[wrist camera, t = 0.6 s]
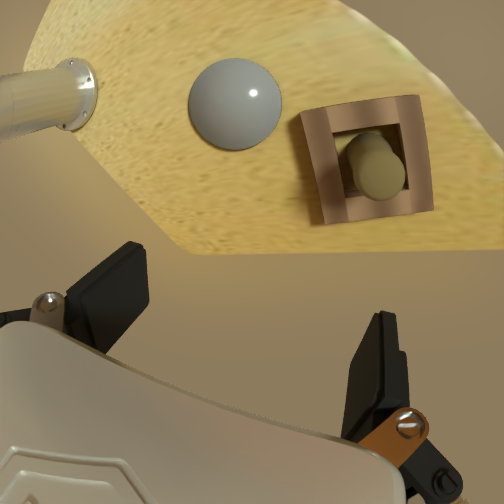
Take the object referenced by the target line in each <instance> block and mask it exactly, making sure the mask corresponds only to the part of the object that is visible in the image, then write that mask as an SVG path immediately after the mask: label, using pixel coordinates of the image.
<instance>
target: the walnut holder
mask: <svg viewBox="0 0 504 504" xmlns="http://www.w3.org/2000/svg"><path fill="white" fill-rule="evenodd" d="M300 115H301V119H302V123H303V127H304V131H305V135H306V139H307V143H308V147H309V152H310V156H311V160H312V164H313V169H314V173H315V178H316V182H317V187H318V192H319V196H320V201H321V206H322V211H323V216H324V221H325V225H328V224H335V223H343V222H350V221H357V220H365V219H372V218H380V217H387V216H395V215H402V214H410V213H418V212H426V211H434V205H433V190H432V178H431V168H430V159H429V151H428V143H427V137H426V130H425V124H424V118H423V112H422V107H421V102H420V97H419V95H403V96H394V97H385V98H377V99H370V100H363V101H356V102H350V103H343V104H337V105H332V106H326V107H321V108H315V109H310V110H305V111H302V112H300ZM395 123H396V129H397V134H398V140H399V146H400V152H401V159H402V164H403V166H404V170H405V183H404V185H403V187H402V190H401V191H400V192H399V193H398V194H397V196H395V197H393V198H392V199H390V200H386V201H374V200H371V199H369V198H367V197H365V196H364V195H363V194H362V193H360V191H359V190H358V189H356V190H349V191H345V190H344V185H343V179H342V174H341V169H340V164H339V159H338V155H337V150H336V145H335V141H334V136H333V132H339V131H346V130H352V129H358V128H365V127H372V126H380V125H387V124H395Z"/></svg>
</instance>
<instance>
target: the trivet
mask: <svg viewBox="0 0 504 504" xmlns="http://www.w3.org/2000/svg"><path fill="white" fill-rule="evenodd" d="M281 110H282V97H281V93H280V89H279V87H278V84H277V83H276V81H275V79H274V78H273V76H272V75H271V74H270V73H269V72H268V71H267V70H266V69H265V68H263V67H262V66H260V65H258V64H256V63H254V62H252V61H249V60H245V59H238V58H231V59H225V60H221V61H218V62H216V63H214V64H212V65H210V66H209V67H207V68H206V69H205V70H204V71H203V72H202V73H201V74H200V75H199V76H198V77H197V79H196V80H195V82H194V84H193V86H192V89H191V92H190V96H189V112H190V116H191V119H192V122H193V124H194V126H195V128H196V129H197V131H198V132H199V133H200V134H201V135H202V137H204V138H205V139H206V140H207V141H209V142H210V143H212V144H214V145H216V146H218V147H221V148H225V149H231V150H239V149H245V148H249V147H252V146H254V145H256V144H258V143H260V142H261V141H263V140H264V139H265V138H266V137H268V136H269V135H270V133H271V132H272V131H273V130H274V128H275V127H276V125H277V123H278V121H279V118H280V115H281Z"/></svg>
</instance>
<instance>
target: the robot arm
mask: <svg viewBox="0 0 504 504" xmlns="http://www.w3.org/2000/svg"><path fill="white" fill-rule="evenodd" d="M97 91H98V89H97V80H96V76H95V73H94V71H93V69H92V68H91V66H90V65H89V64H88V63H87V62H86V61H84V60H82V59H79V58H69V59H66V60H64V61H62V62H60V63H59V64H58V65H57V66H56V67H55V68H52V69H43V70H34V71H27V72H20V73H13V74H7V75H1V76H0V143H3V142H5V141H8V140H11V139H14V138H17V137H20V136H23V135H26V134H29V133H32V132H35V131H39V130H42V129H45V128H48V127H52V126H56V127H58V128H59V129H61V130H65V131H70V130H75V129H78V128H79V127H81V126H83V125H84V124H85V123H86V122H87V121H88V119H89V118H90V117H91V115H92V113H93V111H94V108H95V105H96V100H97ZM66 293H67V295H66V296H65V297H63V295H62V294H60V293H58V292H46V293H43V294H41V295H40V296H38V297H37V298H36V299H35V300H34V302H33V304H32V308H27V309H21V310H15V311H8V312H2V313H0V504H468V502H467V500H466V499H464V500H463V499H462V497H461V495H460V494H461V492H462V489H463V481H462V478H461V475H460V474H459V472H458V471H457V470H456V469H455V468H454V467H453V466H452V465H451V464H450V463H449V462H448V460H446V458H445V457H444V456H443V455H442V454H441V453H440V452H439V451H438V450H437V449H436V448H435V447H434V446H433V445H432V444H431V442H430V441H429V440H428V439H427V436H428V434H429V423H428V421H427V419H426V417H425V416H424V415H423V414H422V413H421V412H420V411H418V410H417V409H414V408H410V401H409V383H408V368H407V357H406V353H405V352H404V351H400V350H399V344H398V332H397V322H396V315H395V314H394V313H390V312H386V311H380V313H379V314H378V313H375V314H374V316H373V317H372V320H371V322H370V324H369V326H368V328H367V330H366V333H365V335H364V337H363V339H362V341H361V343H360V345H359V347H358V349H357V351H356V353H355V355H354V357H353V359H352V361H351V364H350V368H349V377H348V387H347V395H346V403H345V411H344V418H343V425H342V431H341V438H339V437H335V436H331V435H328V434H324V433H321V432H316V431H312V430H309V429H304V428H301V427H297V426H294V425H290V424H286V423H283V422H279V421H276V420H272V419H269V418H266V417H262V416H259V415H255V414H252V413H249V412H246V411H243V410H240V409H237V408H234V407H231V406H228V405H225V404H222V403H219V402H216V401H213V400H211V399H208V398H205V397H202V396H200V395H197V394H195V393H192V392H189V391H187V390H184V389H181V388H179V387H177V386H174V385H172V384H169V383H167V382H164V381H162V380H159V379H157V378H155V377H153V376H150V375H148V374H146V373H144V372H141V371H139V370H137V369H135V368H133V367H130V366H128V365H126V364H124V363H122V362H120V361H117V360H116V359H113V358H111V357H109V356H107V355H105V354H106V353H107V352H108V351H109V350H110V348H111V347H112V346H113V345H114V344H115V343H116V341H117V340H118V339H119V338H120V337H121V336H122V335H123V333H124V332H125V331H126V330H127V329H128V328H129V326H130V325H131V324H132V323H133V322H134V321H135V320H136V318H137V317H138V316H139V315H140V314H141V313H142V312H143V311H144V309H145V308H146V307H147V306H148V303H149V290H148V276H147V261H146V250H145V249H144V248H143V246H142V245H141V244H139V243H135V242H132V241H129V242H127V243H126V244H124V245H123V246H122V247H120V248H119V249H118V250H116V251H115V252H114V253H112V254H111V255H110V256H109V257H107V258H106V259H105V260H104V261H102V262H101V263H100V264H99V265H97V266H96V267H95V268H93V269H92V270H91V271H90V272H89V273H87V274H86V275H85V276H84V277H82V278H81V279H80V280H79V281H77V282H76V283H75V284H74V285H73V286H71V287H70V288H69V289H68V290H67V291H66Z"/></svg>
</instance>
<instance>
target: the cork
mask: <svg viewBox="0 0 504 504" xmlns="http://www.w3.org/2000/svg"><path fill="white" fill-rule="evenodd" d="M346 159H347V163H348V166H349V167H350V169H351V170H352V171H353V179H354V182H355V185H356V187H357V188H358V190H359V191H360V193H362V194H363V195H364V196H365V197H367V198H369V199H371V200H374V201H386V200H390V199H392V198H393V197H395V196H397V194H398V193H399V192H400V191H401V190H402V187H403V185H404V182H405V170H404V166H403V164H402V162H401V161H400V159H399V158H398V157H397V156H396V155H395V154H394V153H393V152H392V148H391V146H390V144H389V143H388V141H387V140H386V139H384V138H383V137H382V136H381V135H378V134H375V133H367V132H366V133H363V134H359V135H358V136H356V137H355V138H353V139H352V141H351V142H350V143H349V145H348V148H347V151H346Z"/></svg>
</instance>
